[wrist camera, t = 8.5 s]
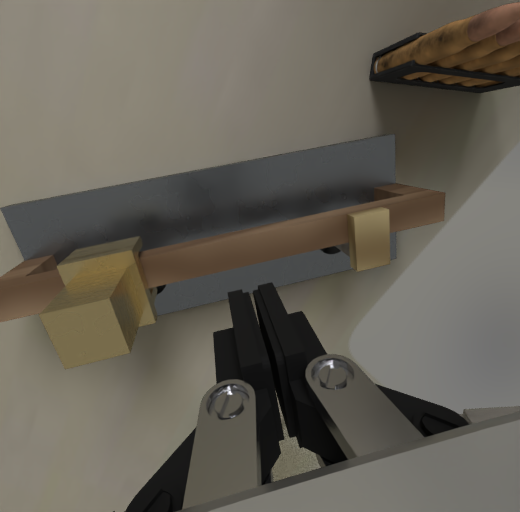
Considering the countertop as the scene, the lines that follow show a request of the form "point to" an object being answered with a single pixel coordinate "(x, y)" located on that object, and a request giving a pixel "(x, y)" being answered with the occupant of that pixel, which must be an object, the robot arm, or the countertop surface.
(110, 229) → the bolt-hole plate
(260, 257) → the bar
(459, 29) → the ammunition clip
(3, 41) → the countertop surface
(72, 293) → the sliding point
